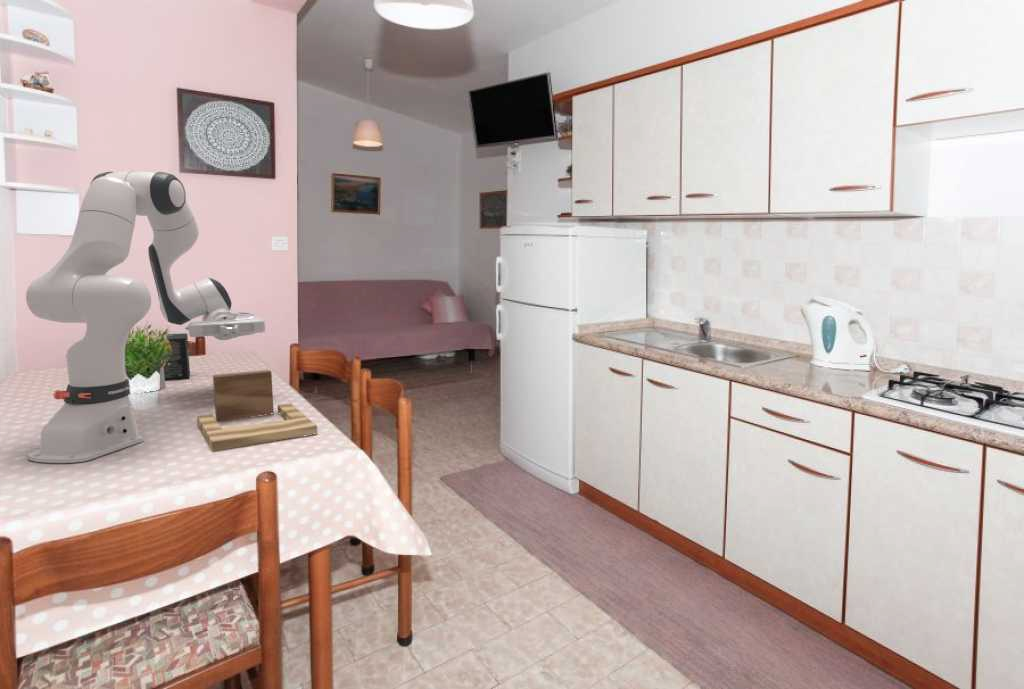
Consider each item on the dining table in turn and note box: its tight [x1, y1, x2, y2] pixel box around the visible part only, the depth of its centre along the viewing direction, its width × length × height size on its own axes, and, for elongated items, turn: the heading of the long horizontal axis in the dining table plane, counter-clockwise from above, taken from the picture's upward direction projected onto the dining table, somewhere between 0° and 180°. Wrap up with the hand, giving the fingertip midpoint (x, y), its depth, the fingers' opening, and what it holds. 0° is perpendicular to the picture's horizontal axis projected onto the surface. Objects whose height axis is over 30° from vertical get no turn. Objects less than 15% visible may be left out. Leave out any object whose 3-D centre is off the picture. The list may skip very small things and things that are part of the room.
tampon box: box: [164, 332, 191, 382], centre depth 210 cm, size 11×9×15 cm
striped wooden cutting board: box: [196, 402, 318, 452], centre depth 154 cm, size 25×24×2 cm
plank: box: [212, 369, 275, 423], centre depth 164 cm, size 4×14×12 cm, turn 124°
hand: (231, 330), depth 171 cm, fingers closed
